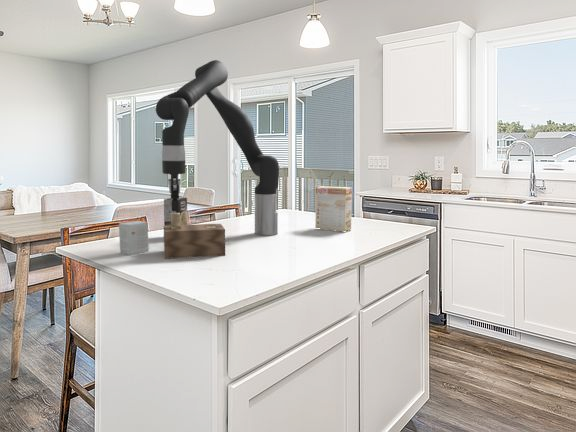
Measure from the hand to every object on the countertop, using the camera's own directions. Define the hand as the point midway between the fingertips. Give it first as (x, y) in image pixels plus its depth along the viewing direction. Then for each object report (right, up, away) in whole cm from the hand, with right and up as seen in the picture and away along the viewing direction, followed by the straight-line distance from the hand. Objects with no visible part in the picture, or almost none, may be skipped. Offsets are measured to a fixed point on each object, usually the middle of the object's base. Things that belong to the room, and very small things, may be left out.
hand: (175, 210), depth 155 cm
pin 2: (+11, -13, +5) cm, 18 cm away
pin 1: (0, -9, +1) cm, 9 cm away
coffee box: (-7, -11, +31) cm, 34 cm away
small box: (-15, -15, +4) cm, 22 cm away
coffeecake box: (+59, -8, +52) cm, 79 cm away
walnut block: (+6, -15, +4) cm, 16 cm away
